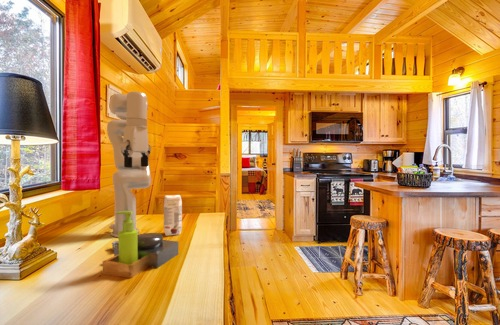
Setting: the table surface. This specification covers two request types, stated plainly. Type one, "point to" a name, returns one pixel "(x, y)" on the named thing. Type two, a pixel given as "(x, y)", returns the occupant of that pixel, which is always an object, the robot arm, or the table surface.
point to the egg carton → (115, 245)
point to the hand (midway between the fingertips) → (136, 166)
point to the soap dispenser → (128, 240)
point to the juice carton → (172, 215)
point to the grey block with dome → (143, 256)
